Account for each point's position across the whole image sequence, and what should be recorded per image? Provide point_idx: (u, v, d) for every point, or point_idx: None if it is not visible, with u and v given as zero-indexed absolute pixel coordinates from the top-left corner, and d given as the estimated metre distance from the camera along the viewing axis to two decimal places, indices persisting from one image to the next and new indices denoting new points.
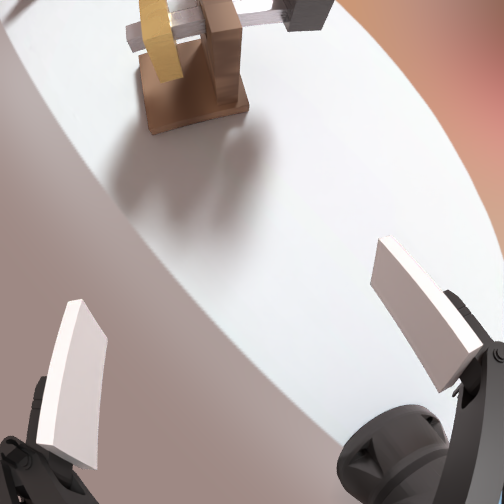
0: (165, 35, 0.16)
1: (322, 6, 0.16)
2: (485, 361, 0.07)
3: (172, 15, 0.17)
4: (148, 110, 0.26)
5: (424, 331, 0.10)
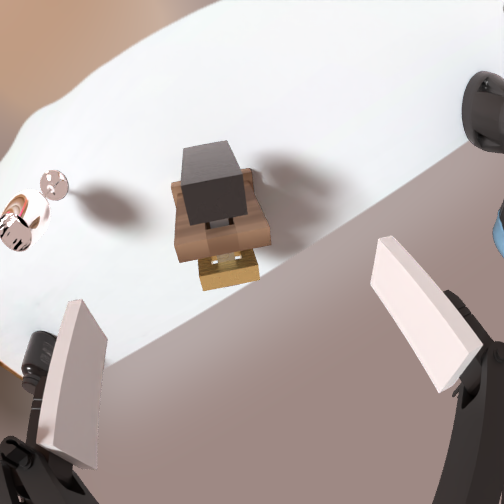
0: None
1: None
2: (485, 361, 0.07)
3: (221, 260, 0.31)
4: None
5: (424, 331, 0.10)
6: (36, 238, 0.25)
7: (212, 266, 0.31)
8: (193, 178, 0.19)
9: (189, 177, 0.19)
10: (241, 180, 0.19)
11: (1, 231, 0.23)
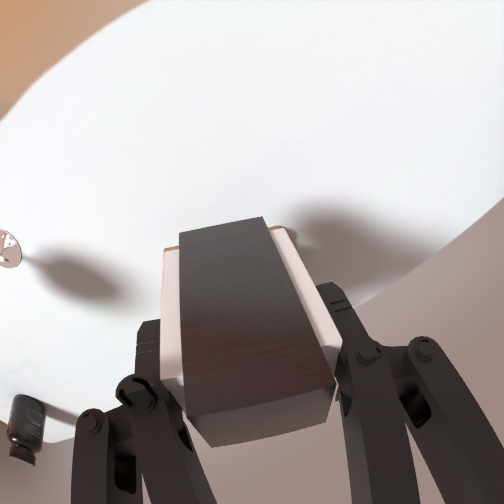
0: None
1: None
2: (348, 367, 0.08)
3: None
4: None
5: None
6: None
7: None
8: (215, 388, 0.07)
9: (202, 376, 0.08)
10: (330, 391, 0.07)
11: None
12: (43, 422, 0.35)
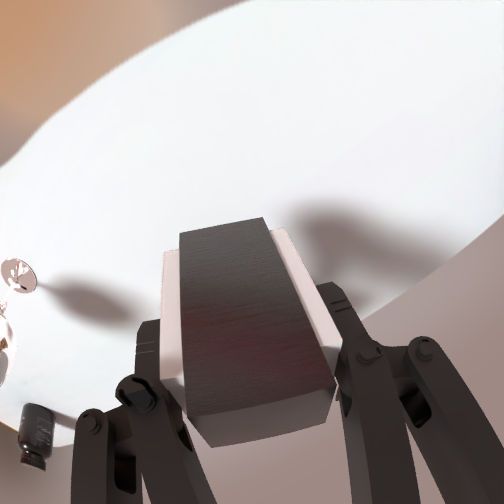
0: None
1: None
2: (348, 367, 0.08)
3: None
4: None
5: None
6: (4, 379, 0.15)
7: None
8: (216, 389, 0.07)
9: (203, 376, 0.08)
10: (330, 392, 0.07)
11: None
12: (52, 429, 0.37)
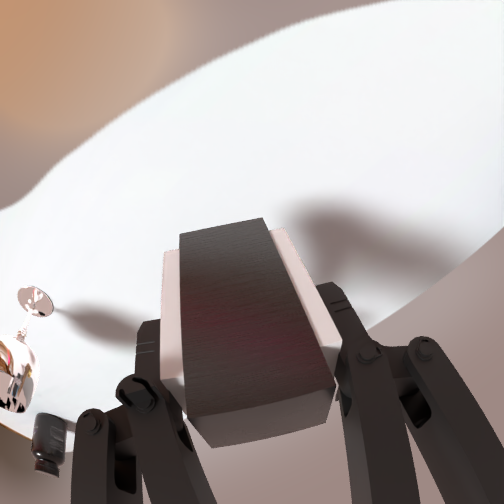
0: None
1: None
2: (348, 367, 0.08)
3: None
4: None
5: None
6: None
7: None
8: (216, 390, 0.07)
9: (203, 377, 0.08)
10: (330, 393, 0.07)
11: None
12: (65, 437, 0.39)
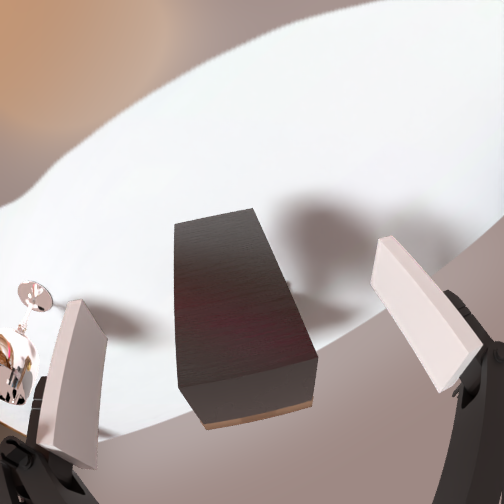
0: None
1: None
2: (485, 361, 0.07)
3: None
4: None
5: (424, 331, 0.10)
6: (29, 393, 0.18)
7: None
8: (205, 362, 0.08)
9: (193, 351, 0.09)
10: (313, 365, 0.08)
11: None
12: None
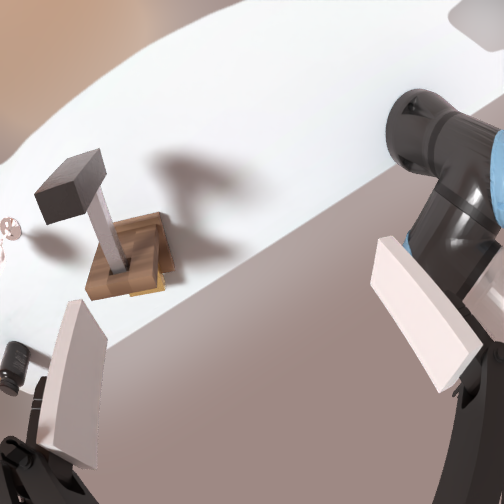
0: (164, 287, 0.47)
1: (93, 165, 0.25)
2: (485, 361, 0.07)
3: (107, 254, 0.32)
4: None
5: (424, 331, 0.10)
6: None
7: None
8: (45, 187, 0.20)
9: (44, 186, 0.20)
10: (73, 185, 0.20)
11: None
12: (27, 362, 0.50)
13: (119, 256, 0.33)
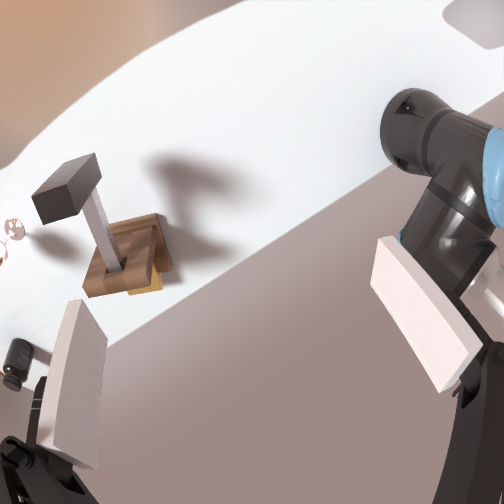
0: (162, 286, 0.48)
1: (87, 168, 0.26)
2: (485, 361, 0.07)
3: (103, 253, 0.33)
4: None
5: (424, 331, 0.10)
6: None
7: None
8: (41, 190, 0.21)
9: (41, 189, 0.22)
10: (66, 188, 0.21)
11: None
12: (30, 359, 0.53)
13: (115, 255, 0.34)
